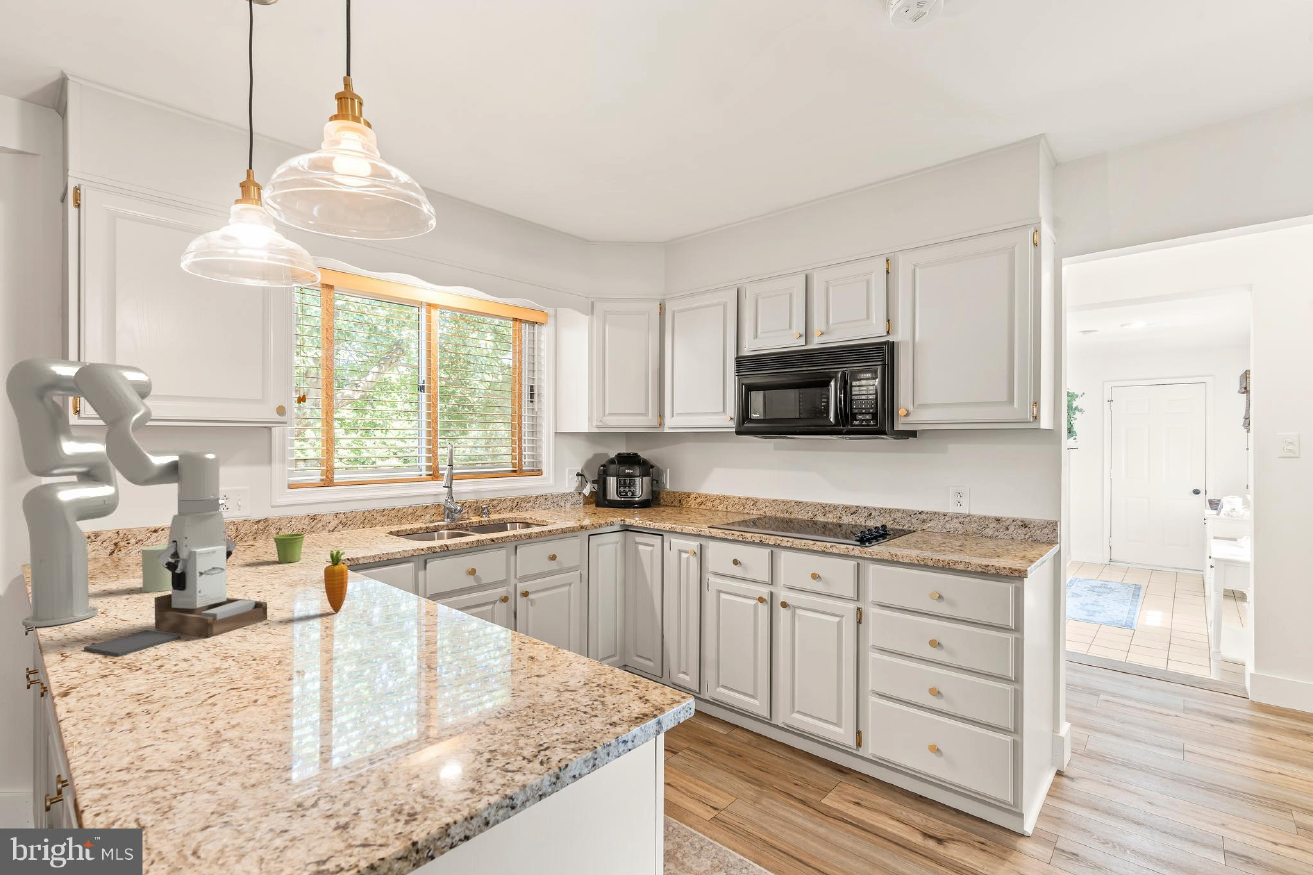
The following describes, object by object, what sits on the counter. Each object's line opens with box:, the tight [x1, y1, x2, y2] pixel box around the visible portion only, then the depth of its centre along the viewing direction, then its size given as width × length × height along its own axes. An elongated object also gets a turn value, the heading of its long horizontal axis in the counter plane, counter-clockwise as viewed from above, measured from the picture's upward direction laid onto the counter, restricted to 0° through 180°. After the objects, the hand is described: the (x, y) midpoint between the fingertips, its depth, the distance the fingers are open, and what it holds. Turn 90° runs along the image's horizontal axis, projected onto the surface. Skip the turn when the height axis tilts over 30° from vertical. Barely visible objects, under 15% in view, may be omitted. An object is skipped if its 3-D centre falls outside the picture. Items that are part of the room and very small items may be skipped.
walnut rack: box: [154, 593, 268, 639], centre depth 138 cm, size 17×13×7 cm
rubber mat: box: [83, 629, 182, 657], centre depth 126 cm, size 11×11×1 cm
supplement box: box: [171, 546, 227, 609], centre depth 139 cm, size 7×7×13 cm
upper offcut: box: [201, 599, 256, 621], centre depth 137 cm, size 4×10×2 cm, turn 168°
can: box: [141, 543, 172, 593], centre depth 172 cm, size 9×9×12 cm
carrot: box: [323, 549, 349, 614], centre depth 146 cm, size 5×5×15 cm
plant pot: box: [272, 533, 306, 564], centre depth 206 cm, size 9×9×9 cm
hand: (198, 584), depth 139 cm, fingers closed on supplement box, 7 cm apart
